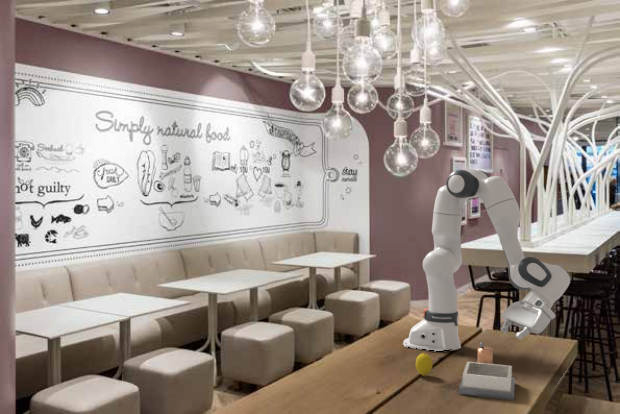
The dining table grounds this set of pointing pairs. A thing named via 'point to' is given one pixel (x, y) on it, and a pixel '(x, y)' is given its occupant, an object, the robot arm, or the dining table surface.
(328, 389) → the dining table surface
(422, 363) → the lemon
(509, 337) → the dining table surface
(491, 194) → the robot arm
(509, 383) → the open square box
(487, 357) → the copper upright cylinder
